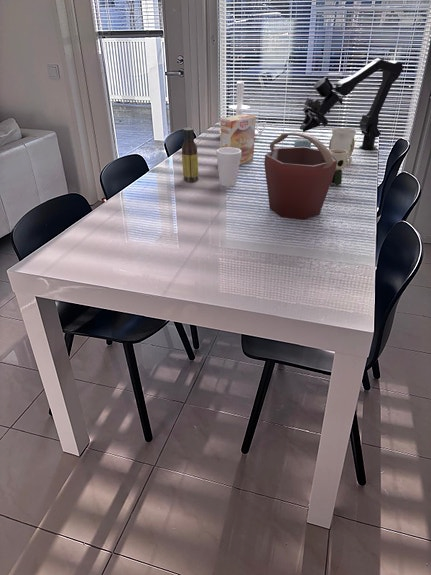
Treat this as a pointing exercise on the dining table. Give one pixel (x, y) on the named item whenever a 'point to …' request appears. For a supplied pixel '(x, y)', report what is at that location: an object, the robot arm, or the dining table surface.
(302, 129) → the knob
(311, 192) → the bucket
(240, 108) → the candlestick
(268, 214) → the dining table surface
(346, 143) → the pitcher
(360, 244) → the dining table surface
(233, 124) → the coffeecake box
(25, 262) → the dining table surface
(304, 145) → the tiered round stand
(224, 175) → the foam cup
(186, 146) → the sauce bottle
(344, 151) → the character mug
